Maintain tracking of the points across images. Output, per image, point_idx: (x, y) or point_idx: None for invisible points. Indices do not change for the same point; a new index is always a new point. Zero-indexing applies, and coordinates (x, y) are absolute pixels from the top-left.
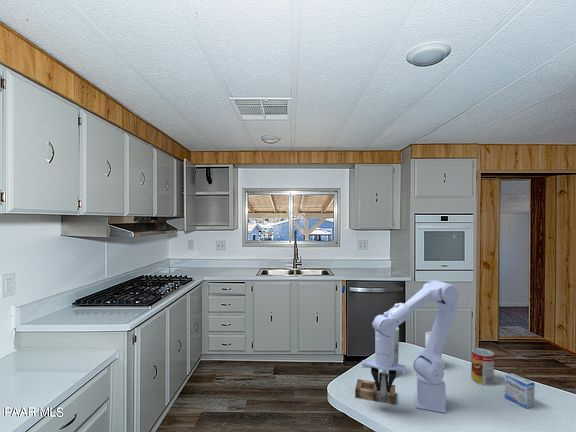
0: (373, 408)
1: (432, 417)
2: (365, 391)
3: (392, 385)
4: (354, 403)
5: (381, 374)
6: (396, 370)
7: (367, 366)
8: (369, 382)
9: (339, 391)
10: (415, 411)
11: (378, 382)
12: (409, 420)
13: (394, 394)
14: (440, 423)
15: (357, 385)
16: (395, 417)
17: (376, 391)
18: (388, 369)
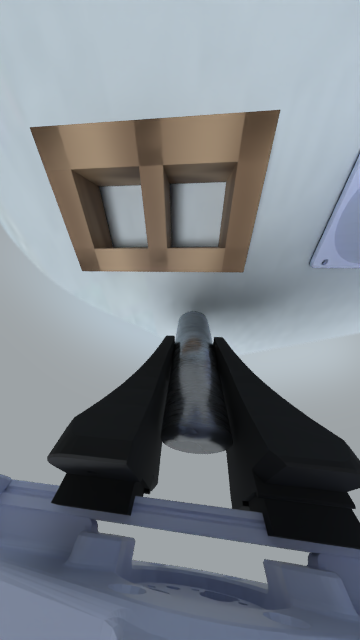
0: (166, 308)
1: (336, 303)
2: (122, 270)
3: (257, 126)
4: (113, 300)
5: (179, 444)
6: (349, 551)
7: (33, 506)
8: (110, 152)
9: (38, 242)
10: (293, 286)
11: (167, 384)
12: (256, 332)
13: (243, 257)
14: (341, 323)
15: (72, 230)
16: (222, 329)
17: (164, 259)
18: (244, 599)
